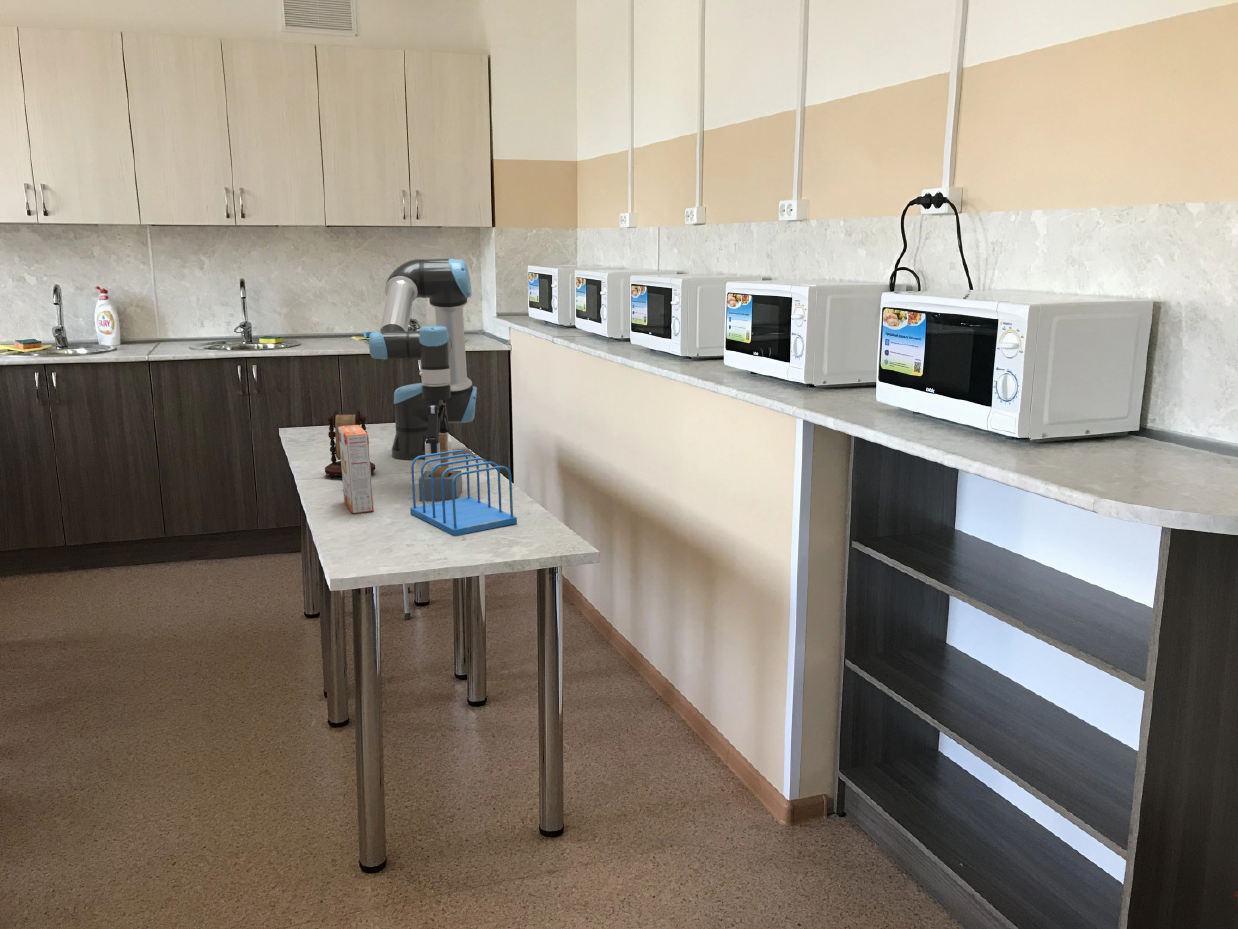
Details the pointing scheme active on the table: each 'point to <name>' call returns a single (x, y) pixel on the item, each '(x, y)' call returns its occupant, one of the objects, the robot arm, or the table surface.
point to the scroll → (336, 422)
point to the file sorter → (462, 500)
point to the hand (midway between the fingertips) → (439, 461)
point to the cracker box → (356, 468)
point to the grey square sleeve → (438, 486)
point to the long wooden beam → (443, 448)
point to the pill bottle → (429, 457)
